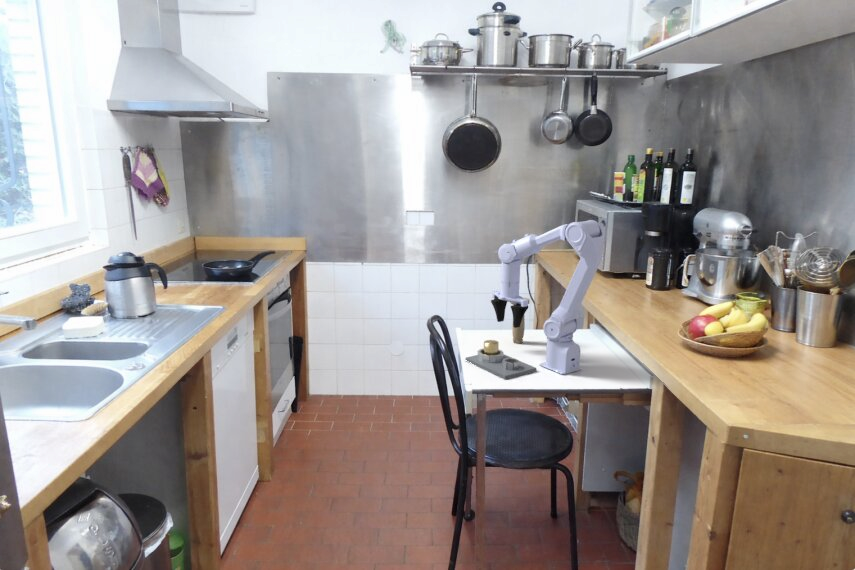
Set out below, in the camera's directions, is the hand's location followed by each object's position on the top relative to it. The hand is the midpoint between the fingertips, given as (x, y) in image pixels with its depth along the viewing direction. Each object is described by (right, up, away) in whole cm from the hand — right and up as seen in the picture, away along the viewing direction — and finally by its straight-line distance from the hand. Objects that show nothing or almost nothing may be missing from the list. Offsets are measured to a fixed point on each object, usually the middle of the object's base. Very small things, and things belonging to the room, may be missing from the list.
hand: (508, 324), depth 178 cm
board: (-4, -12, -10) cm, 16 cm away
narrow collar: (-1, -13, -14) cm, 19 cm away
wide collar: (-6, -11, -6) cm, 14 cm away
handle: (+5, -7, +12) cm, 15 cm away
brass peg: (-6, -10, -6) cm, 13 cm away
